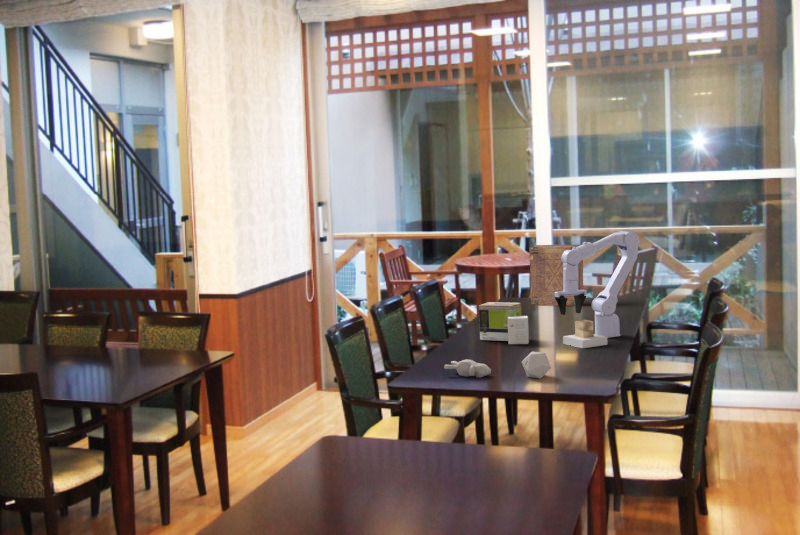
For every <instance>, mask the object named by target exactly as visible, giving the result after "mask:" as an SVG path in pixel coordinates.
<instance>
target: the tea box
mask: <svg viewBox="0 0 800 535" xmlns="http://www.w3.org/2000/svg"><path fill="white" fill-rule="evenodd" d="M509 316H522V302H499V301H498V302H496V301H495V302H494V301H493V302H492V301H491V302H489V301H487V302H485V303H482V304H479V305H478V317H479V318H478V322H479V323H478V324H479V339H480V341H497V342H499V341H500V342H508V322H507V318H508V317H509Z"/></svg>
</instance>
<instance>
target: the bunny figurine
mask: <svg viewBox="0 0 800 535" xmlns="http://www.w3.org/2000/svg"><path fill="white" fill-rule="evenodd" d="M450 363H451V364H444V367H443V369H444V370H456V371H457V373H458V375H459V376H461V377H476V378H478V377H479V378H483V377H485V376H488V375H491V372H492V368H490V367H489V366H488V364H485V363H480V362H476V361H474V360H473V359H463V360H461V361H456V360H452V361H450ZM479 378H478V379H479Z"/></svg>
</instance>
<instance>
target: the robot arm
mask: <svg viewBox="0 0 800 535" xmlns="http://www.w3.org/2000/svg"><path fill="white" fill-rule="evenodd" d="M640 244H641V240H640V237H639V235H638V234H637V233H636V232H634V231H624V230H618V231H617V232H616V231H615V232H613V233H611V234H609V235H607V236H605V237H603V238H601V239H599V240H597V241H594V242H590V241H588V242H587V241H584V242H582V244H579V245H580V246H578V247H573V248H572V250H566V251H564V253H563V254H562V257H561V260H562V262H563V264H564V268H563V291H559V292H555V300H556V301H557V303H558V310H559V312H560V315H561V316H565V315H566V313H567V308H566V307H567V306H566V303H567V298H565V297H564V296H574V299H575V306H574V307H575V310H574V311H575V313H576V314H581V312H582V309H583V305H584V303H585V301H586V299H587V289H583V290H578V264H579V262H580V261H581V260H586V259H589V258H591V257H593V256H595V254H596V251H600V250H601V249H605V248H607V247H610V246H612V245H616V246H617V247H618V249H619V250H620V253H621V259H620V260H619V262H618V264H617V266H616V267H615V269H614V270H613V273H612V275H611V277H610V279H609V280H608V282H607V284H606V286H605V287H604V289H603V290H602V291H600V292H599V293H598V295H597V296H596V297H594V299H593V300H592V302H591V308H592V310H593V311H594V334H596V335H601V336H605V337H607V339H609V338H615V337H620V336H622V334H620V333H621V332H620V331H621V330H620V318H619V316H618V315H617V314H616V313H615V312H616V307H617V304H618V295H619V292H620V291H621V289H622V287H623V285H624V282H625V281H626V279H627V278H628V276H629V273H630V272H631V270H632V268H633V266H634V265H635V262H636V261H637V259H638V257H639V256H638V253H639V245H640ZM568 294H569V295H568Z"/></svg>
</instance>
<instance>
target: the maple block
mask: <svg viewBox="0 0 800 535" xmlns="http://www.w3.org/2000/svg"><path fill="white" fill-rule="evenodd" d="M594 334H595V328H594V321H593V320H588V319H581V320H574V335H575V336H576V337H581V338H587V337H594Z"/></svg>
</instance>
